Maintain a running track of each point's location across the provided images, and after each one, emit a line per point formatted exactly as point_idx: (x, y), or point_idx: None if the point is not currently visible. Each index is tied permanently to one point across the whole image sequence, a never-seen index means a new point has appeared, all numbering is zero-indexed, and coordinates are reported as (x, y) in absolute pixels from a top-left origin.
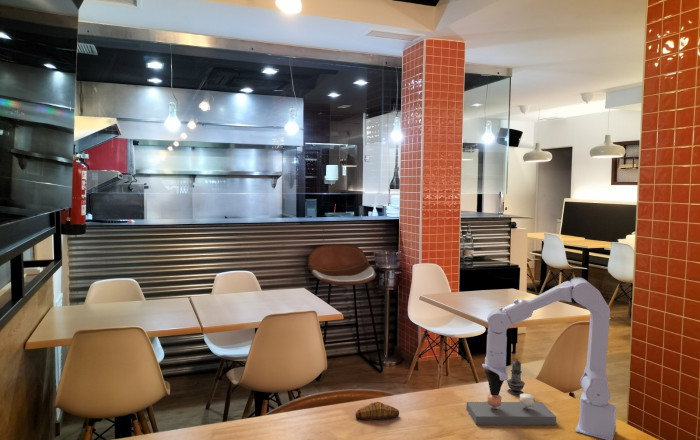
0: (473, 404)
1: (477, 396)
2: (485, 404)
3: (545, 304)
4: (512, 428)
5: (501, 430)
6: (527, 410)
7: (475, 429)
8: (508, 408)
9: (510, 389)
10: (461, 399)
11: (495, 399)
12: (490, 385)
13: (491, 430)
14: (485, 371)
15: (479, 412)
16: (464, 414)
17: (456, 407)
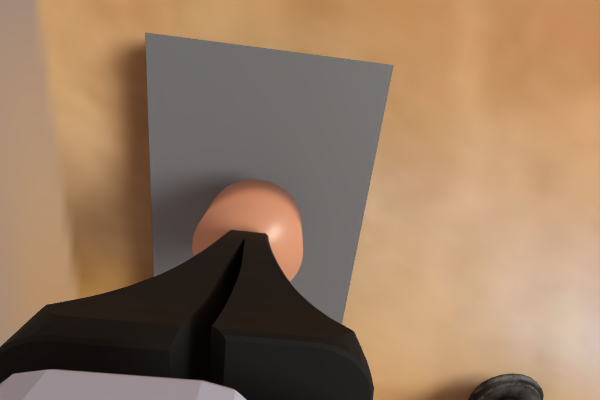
0: (340, 99)
1: (527, 213)
2: (328, 184)
3: None
4: (131, 230)
5: (104, 164)
6: None
7: (104, 6)
8: None
9: (531, 396)
10: (523, 96)
11: (194, 233)
12: (210, 261)
13: (99, 107)
14: (258, 339)
15: (208, 87)
16: (313, 21)
17: (422, 6)
